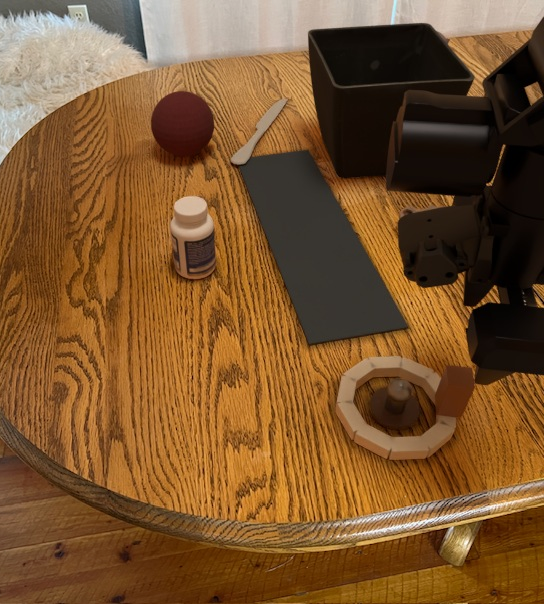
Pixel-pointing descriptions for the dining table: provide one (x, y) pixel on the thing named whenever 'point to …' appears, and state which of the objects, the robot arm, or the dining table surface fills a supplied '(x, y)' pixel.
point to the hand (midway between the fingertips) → (474, 342)
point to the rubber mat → (318, 251)
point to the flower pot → (375, 86)
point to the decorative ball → (182, 124)
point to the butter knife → (258, 133)
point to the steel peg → (395, 405)
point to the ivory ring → (442, 391)
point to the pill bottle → (193, 238)
